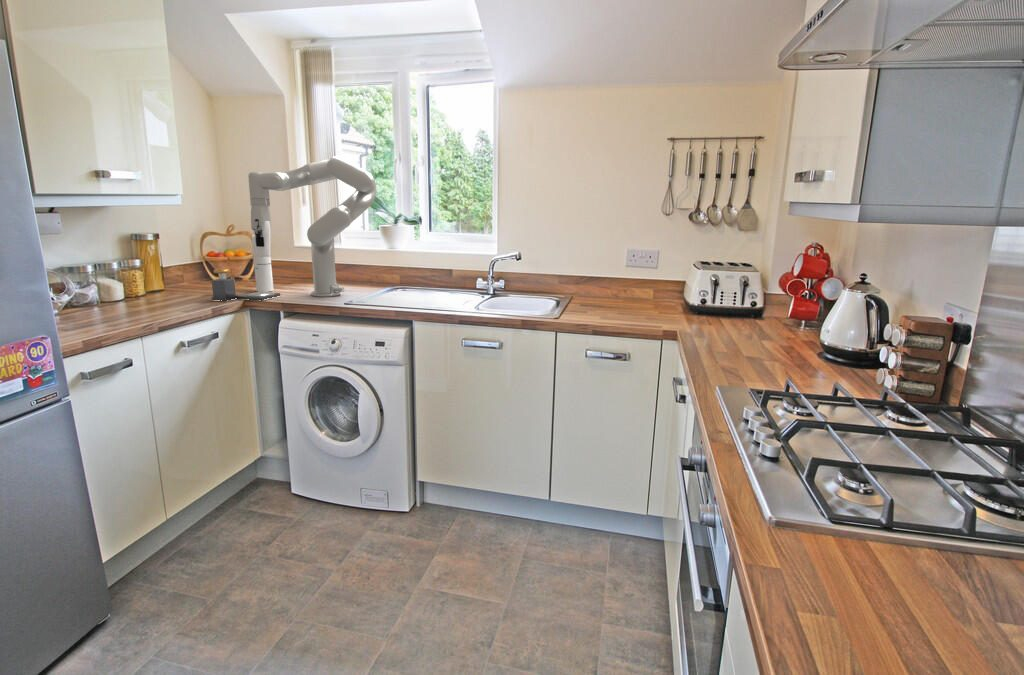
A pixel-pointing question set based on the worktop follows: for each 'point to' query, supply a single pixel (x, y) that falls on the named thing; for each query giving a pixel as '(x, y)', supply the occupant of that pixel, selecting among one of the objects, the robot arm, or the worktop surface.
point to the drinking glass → (265, 241)
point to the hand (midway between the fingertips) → (263, 245)
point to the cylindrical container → (262, 270)
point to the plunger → (222, 273)
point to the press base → (227, 291)
